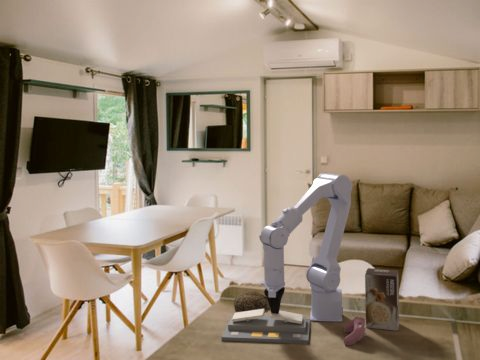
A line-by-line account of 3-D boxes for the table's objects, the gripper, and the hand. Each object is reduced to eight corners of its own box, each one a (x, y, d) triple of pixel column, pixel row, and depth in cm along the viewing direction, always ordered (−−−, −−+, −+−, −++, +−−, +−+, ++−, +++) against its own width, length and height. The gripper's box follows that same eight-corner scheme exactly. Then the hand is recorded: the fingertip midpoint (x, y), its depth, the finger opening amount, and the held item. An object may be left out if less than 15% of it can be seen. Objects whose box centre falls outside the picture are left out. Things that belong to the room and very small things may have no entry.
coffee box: (399, 323, 153) (400, 270, 151) (397, 331, 147) (397, 276, 145) (368, 319, 157) (367, 267, 155) (364, 327, 151) (364, 273, 149)
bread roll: (230, 312, 167) (229, 297, 166) (237, 299, 179) (236, 285, 178) (270, 313, 164) (269, 298, 164) (274, 300, 177) (273, 285, 176)
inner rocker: (302, 318, 153) (302, 314, 152) (301, 325, 148) (302, 321, 148) (271, 312, 154) (272, 308, 154) (270, 319, 149) (270, 315, 149)
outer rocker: (265, 312, 154) (264, 308, 154) (263, 319, 149) (262, 314, 149) (235, 316, 156) (234, 312, 156) (232, 323, 151) (232, 319, 151)
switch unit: (309, 322, 156) (309, 314, 156) (308, 343, 141) (308, 335, 141) (231, 319, 160) (230, 311, 160) (221, 340, 145) (221, 331, 145)
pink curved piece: (357, 352, 139) (369, 330, 138) (342, 344, 140) (353, 322, 138) (357, 336, 149) (368, 316, 147) (342, 329, 149) (353, 308, 148)
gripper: (263, 260, 157) (264, 303, 159) (257, 274, 143) (258, 322, 145) (286, 260, 156) (287, 304, 158) (282, 275, 142) (283, 323, 143)
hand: (275, 313), depth 151 cm, fingers closed, pressing on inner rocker
